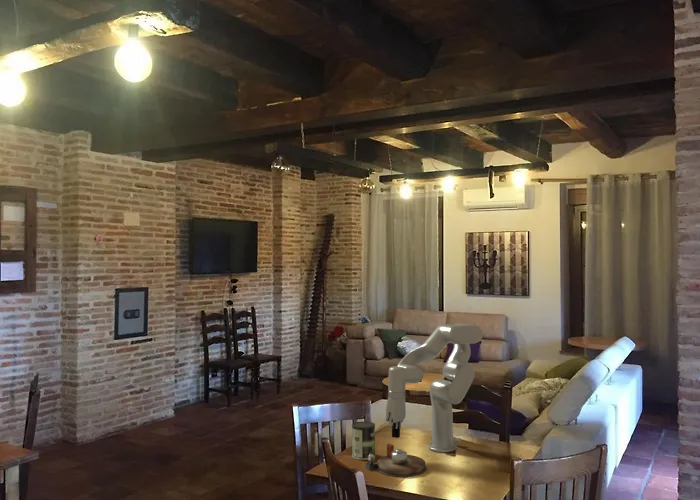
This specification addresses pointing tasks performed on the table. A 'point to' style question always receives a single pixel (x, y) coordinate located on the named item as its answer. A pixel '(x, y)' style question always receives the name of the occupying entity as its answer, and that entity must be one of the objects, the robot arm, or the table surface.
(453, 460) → the table surface
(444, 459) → the table surface
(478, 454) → the table surface
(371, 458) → the small bust figurine
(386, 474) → the turntable base
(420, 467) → the turntable
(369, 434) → the coffee can
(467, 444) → the table surface
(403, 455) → the cover
